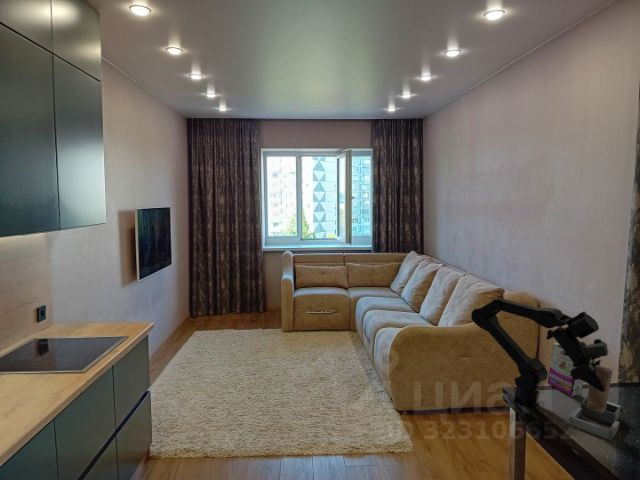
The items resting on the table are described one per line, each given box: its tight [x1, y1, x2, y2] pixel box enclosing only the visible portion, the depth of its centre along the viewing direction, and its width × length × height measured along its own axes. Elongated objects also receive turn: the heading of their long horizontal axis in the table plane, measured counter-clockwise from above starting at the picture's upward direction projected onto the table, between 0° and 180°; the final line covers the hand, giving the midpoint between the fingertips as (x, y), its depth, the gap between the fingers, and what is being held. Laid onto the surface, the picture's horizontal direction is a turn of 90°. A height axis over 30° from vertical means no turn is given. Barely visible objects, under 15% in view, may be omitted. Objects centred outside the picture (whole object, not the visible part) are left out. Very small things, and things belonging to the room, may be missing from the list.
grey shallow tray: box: [567, 406, 620, 441], centre depth 148 cm, size 12×10×2 cm
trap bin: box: [579, 395, 621, 427], centre depth 155 cm, size 10×7×4 cm
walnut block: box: [586, 365, 613, 413], centre depth 146 cm, size 4×4×13 cm
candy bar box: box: [547, 342, 584, 398], centre depth 173 cm, size 11×5×16 cm, turn 21°
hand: (604, 388), depth 145 cm, fingers closed on walnut block, 5 cm apart
